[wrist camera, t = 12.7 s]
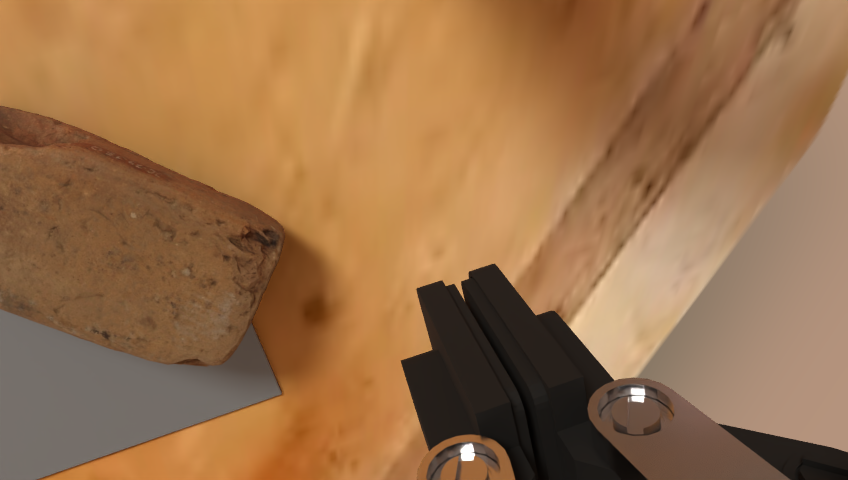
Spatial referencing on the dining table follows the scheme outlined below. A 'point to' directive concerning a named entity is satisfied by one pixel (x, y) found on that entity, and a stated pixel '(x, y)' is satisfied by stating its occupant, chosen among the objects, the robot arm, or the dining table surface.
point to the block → (126, 246)
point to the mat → (106, 396)
